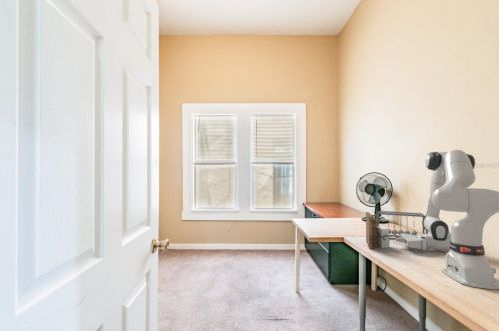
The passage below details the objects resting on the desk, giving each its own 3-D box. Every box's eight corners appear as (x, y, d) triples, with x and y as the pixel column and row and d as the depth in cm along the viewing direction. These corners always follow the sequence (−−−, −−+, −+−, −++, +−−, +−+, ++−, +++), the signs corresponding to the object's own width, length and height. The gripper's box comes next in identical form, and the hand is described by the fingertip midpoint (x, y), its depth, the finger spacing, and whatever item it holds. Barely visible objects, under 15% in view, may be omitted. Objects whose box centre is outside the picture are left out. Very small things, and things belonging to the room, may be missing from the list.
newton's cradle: (424, 239, 184) (424, 213, 184) (428, 242, 174) (428, 215, 175) (376, 234, 195) (376, 210, 195) (377, 238, 185) (377, 212, 186)
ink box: (375, 244, 170) (375, 225, 170) (383, 244, 169) (383, 225, 170) (381, 248, 161) (381, 228, 161) (389, 248, 161) (389, 228, 161)
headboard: (377, 249, 157) (377, 217, 158) (368, 249, 159) (368, 216, 159) (373, 241, 176) (373, 212, 177) (365, 240, 178) (365, 211, 178)
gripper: (416, 232, 169) (391, 230, 173) (426, 239, 150) (398, 237, 154) (416, 242, 169) (391, 240, 173) (426, 251, 149) (398, 248, 154)
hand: (395, 239), depth 163 cm, fingers closed
